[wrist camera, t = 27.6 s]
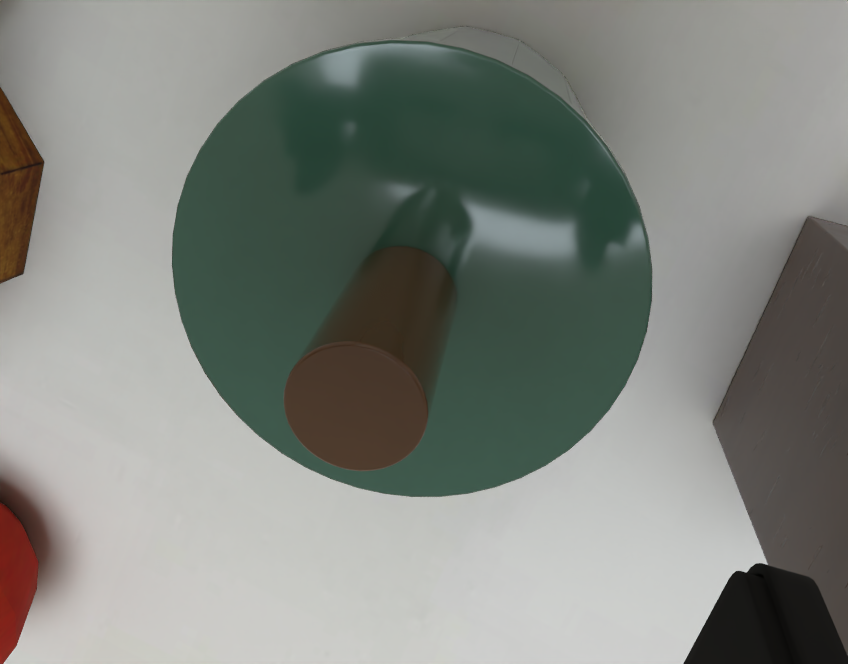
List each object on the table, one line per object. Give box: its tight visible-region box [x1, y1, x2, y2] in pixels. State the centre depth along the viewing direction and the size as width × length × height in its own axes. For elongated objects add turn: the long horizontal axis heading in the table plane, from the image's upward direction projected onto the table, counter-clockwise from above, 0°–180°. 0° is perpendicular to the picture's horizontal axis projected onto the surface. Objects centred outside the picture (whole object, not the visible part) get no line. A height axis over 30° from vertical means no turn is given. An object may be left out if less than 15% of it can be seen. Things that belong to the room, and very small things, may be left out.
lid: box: [172, 38, 652, 497], centre depth 16 cm, size 11×11×6 cm
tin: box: [405, 26, 588, 120], centre depth 23 cm, size 10×10×12 cm
